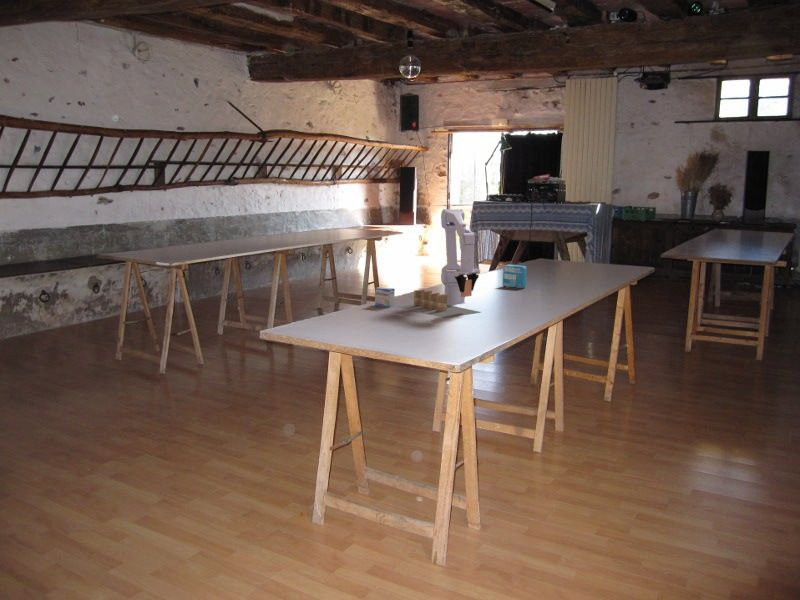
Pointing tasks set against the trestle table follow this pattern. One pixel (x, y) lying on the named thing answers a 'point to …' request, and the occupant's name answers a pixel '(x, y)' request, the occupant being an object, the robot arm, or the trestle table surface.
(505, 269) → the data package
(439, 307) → the domino
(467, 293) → the domino
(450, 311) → the mat
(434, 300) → the domino
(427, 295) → the domino
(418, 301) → the domino
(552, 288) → the trestle table surface
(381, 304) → the medicine box
